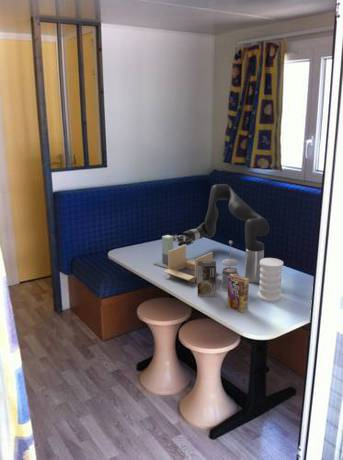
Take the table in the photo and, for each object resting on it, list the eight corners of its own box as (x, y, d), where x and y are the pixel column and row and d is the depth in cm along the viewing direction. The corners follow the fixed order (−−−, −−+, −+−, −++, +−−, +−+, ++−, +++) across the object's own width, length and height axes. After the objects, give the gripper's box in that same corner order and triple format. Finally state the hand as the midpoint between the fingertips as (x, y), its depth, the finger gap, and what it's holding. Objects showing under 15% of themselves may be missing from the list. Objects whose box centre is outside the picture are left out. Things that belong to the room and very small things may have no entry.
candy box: (248, 309, 202) (249, 278, 197) (242, 312, 199) (244, 281, 194) (232, 303, 208) (233, 273, 203) (226, 306, 205) (227, 276, 200)
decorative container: (267, 289, 222) (268, 255, 217) (286, 297, 214) (289, 262, 209) (252, 296, 215) (253, 261, 210) (272, 304, 206) (274, 268, 201)
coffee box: (215, 291, 221) (216, 261, 216) (215, 297, 215) (216, 265, 210) (197, 290, 222) (197, 260, 217) (197, 296, 216) (197, 265, 211)
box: (173, 262, 258) (173, 236, 253) (168, 264, 255) (167, 238, 250) (167, 260, 261) (167, 234, 256) (162, 263, 257) (162, 236, 253)
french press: (233, 282, 231) (234, 236, 224) (244, 291, 221) (246, 243, 213) (216, 285, 228) (217, 239, 220) (227, 294, 217) (228, 246, 210)
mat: (182, 263, 258) (182, 262, 258) (168, 269, 250) (168, 268, 250) (167, 258, 266) (167, 257, 266) (153, 264, 257) (153, 263, 257)
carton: (217, 272, 245) (218, 249, 241) (189, 286, 227) (189, 262, 224) (190, 264, 257) (190, 242, 253) (162, 276, 240) (161, 253, 236)
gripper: (181, 228, 273) (164, 234, 261) (200, 232, 264) (182, 239, 252) (181, 239, 275) (164, 246, 264) (200, 244, 266) (182, 251, 255)
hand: (173, 242), depth 258 cm, fingers open, 8 cm apart
